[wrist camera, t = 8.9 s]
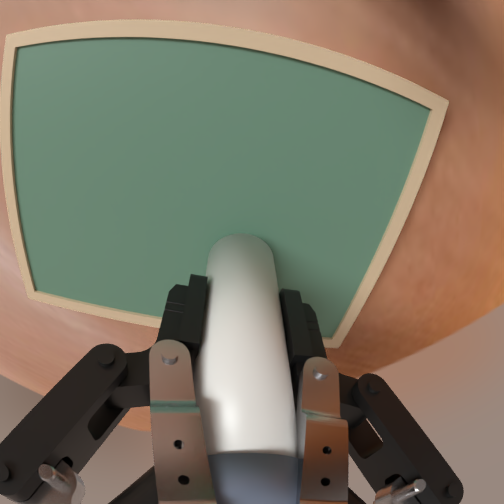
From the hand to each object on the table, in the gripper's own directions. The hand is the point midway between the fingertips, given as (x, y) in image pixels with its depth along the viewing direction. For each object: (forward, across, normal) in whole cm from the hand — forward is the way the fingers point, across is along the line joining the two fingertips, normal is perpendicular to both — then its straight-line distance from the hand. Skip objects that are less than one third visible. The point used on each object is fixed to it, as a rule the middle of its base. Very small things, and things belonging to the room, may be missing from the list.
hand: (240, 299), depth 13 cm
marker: (+3, 0, 0) cm, 3 cm away
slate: (+4, +3, -2) cm, 5 cm away
